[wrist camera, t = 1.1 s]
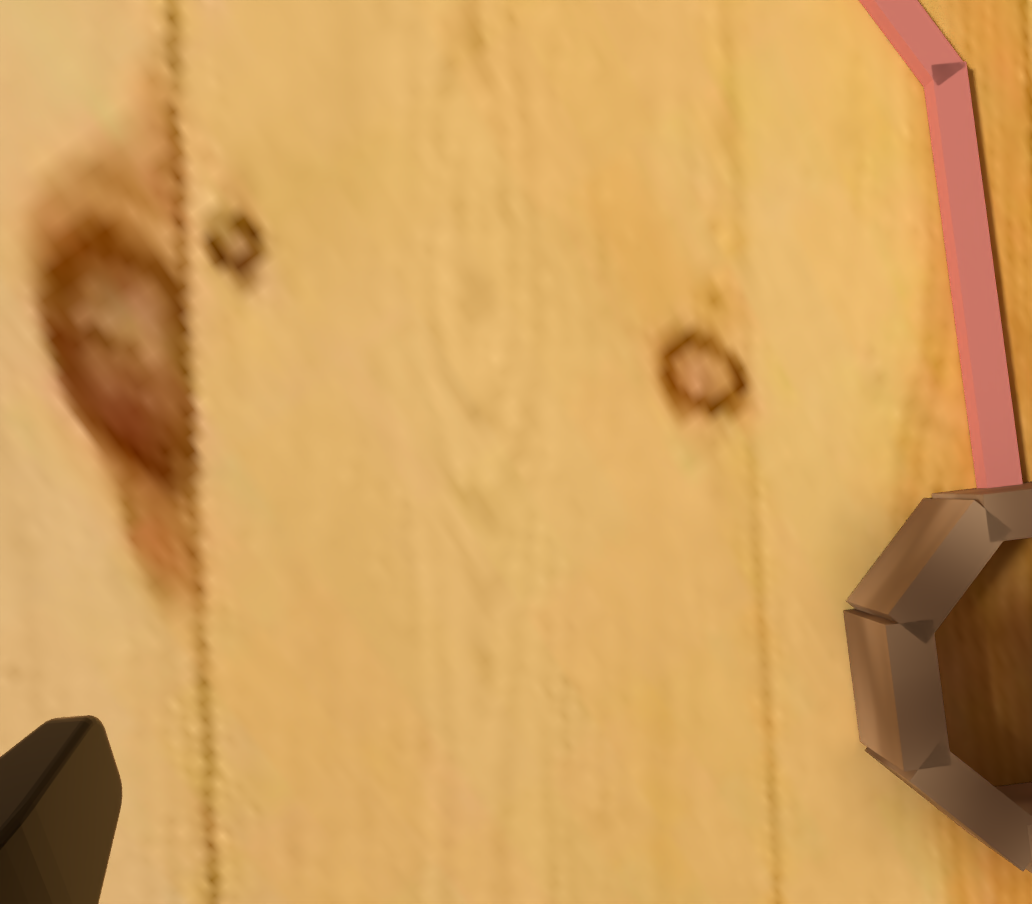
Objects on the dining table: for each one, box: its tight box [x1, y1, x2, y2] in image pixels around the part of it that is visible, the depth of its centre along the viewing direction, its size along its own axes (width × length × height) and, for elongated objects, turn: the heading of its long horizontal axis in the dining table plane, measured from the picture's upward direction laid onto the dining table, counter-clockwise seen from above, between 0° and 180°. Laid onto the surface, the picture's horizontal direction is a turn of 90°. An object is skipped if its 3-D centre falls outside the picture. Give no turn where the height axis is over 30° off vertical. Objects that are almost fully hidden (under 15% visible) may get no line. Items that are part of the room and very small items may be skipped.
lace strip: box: [859, 0, 1023, 488], centre depth 25 cm, size 16×3×1 cm, turn 7°
